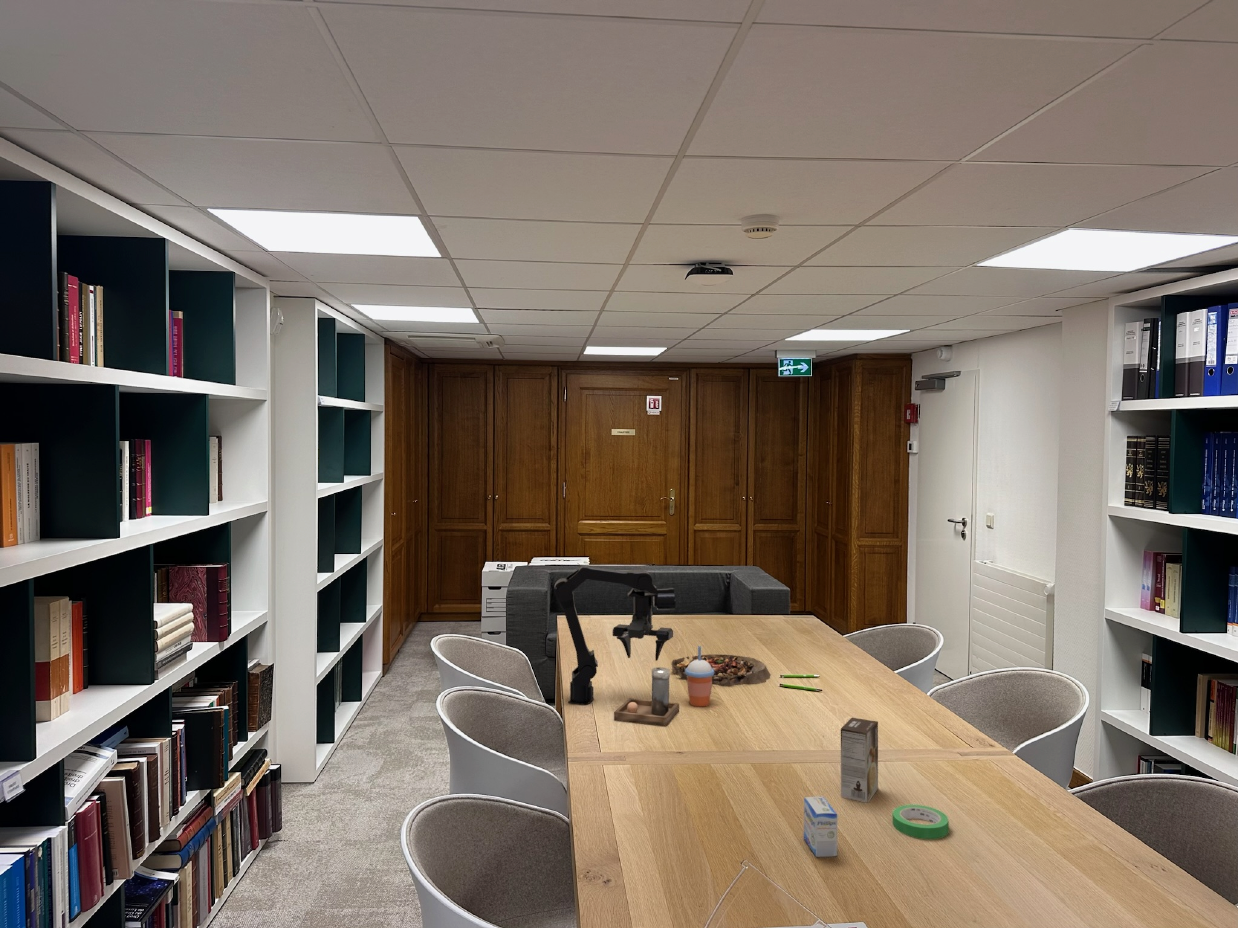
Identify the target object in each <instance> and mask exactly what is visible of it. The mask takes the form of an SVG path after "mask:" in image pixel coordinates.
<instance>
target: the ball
mask: <svg viewBox="0 0 1238 928" xmlns="http://www.w3.org/2000/svg"><path fill="white" fill-rule="evenodd" d="M627 709H628V711H629V712H630V713H635V712H636V711H637V710H638V705H637V704H636V703H635V702H630V703H629V704H628V706H627Z"/></svg>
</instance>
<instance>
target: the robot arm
mask: <svg viewBox="0 0 1238 928" xmlns="http://www.w3.org/2000/svg"><path fill="white" fill-rule="evenodd" d="M586 580H590V581H599V582H606V583H613V584H621V585H624V586H625V585H626V587H627V586H628V587H630V588H631V589H630V591H628V592H627V596H628V598H633V613H632V617H631V621H630V623H629V624H623V623H622V624H617V625H616V626H614V627H613V628H612V636H613V637H616V639H617V640H619V641H620V642H621V643H622V645H623V647H624V651H625V654H626V657H627V658H628V659H630V658H631V656H632V649H631V648H632V647H631V646H632V645H631V644H632V641H631V640H632V639H638V640H642V639H643V638H644V637H645V636H649V637H650V636H651V637H655V638H656V640H655V653H654V654H655V656H654V657H655V661H658V660H659V657H660V655H661V652H662V649H663V647H664V645H665V643H666V642H667V641H670V640H671V639H673V638H674V629H672V627H659V628H658V629H653V628H654V627H653V626H654V625H653V624H652V621H653V620H652V619H653V613H654V612H653V611H652V608H656V610H657V611H675V610H676V599H675V598H676V597H675V589H674V588H673V587H669V588H657V586H656V585H654V583H653V578H652V576H651V575H650V573H649V572H648V571H647V570H646V569H631V570H630V569H629V570H619V569H618V570H617V569H610V568H603V567H595V566H594V567H593V566H588V565H581V566H580V567H579V568H578V569H576V570H575V571H573V572H572V573H570V574H569V575H567V577H563V578H559V579H558V580H556V582H555V583H554V586H553V587H554V588H553V593H554V595H555V597H556V600H557V602H558V603H559V605H560V606H561V608H562V610H563V612H564V615H565V616H564V617H565V620H566V623H567V626H568V628H569V629H568V630H569V632H570V636H571V638H572V639H571V640H572V642H573V646H574V648H575V649H574V650H575V652H576V662H577V666H576V668H574V669H573V670H572V671H571V681H570V683H569V684H570V685H569V694H570V695H569V697H570V698H569V699H568V702H567V703H568V704H575V705H583V706H584V705H585V706H586V705H589V704H590V703H591V702H593V700H595V697H594V686H593V680H592V679H593V678H595V676H596V675H597V672H598V670H597V668H598V667H599V664H598V663H599V662H598V660H597V658H596V657H595V656H596V655H595V650H594V649H592V650H590V649H589V647H588V646H587V643H586V639H585V636H584V632H583V629H582V626H581V622H580V619H579V616H578V613H577V609H576V607H575V606H576V605H575V599H574V591H575V590H576V589H578V587H579V586H581V585H582V584H583V583H584V582H586ZM635 589H636V590H635ZM646 591H647V592H648V593H647V592H646ZM652 604H653V605H652Z"/></svg>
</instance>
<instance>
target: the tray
mask: <svg viewBox="0 0 1238 928" xmlns="http://www.w3.org/2000/svg"><path fill="white" fill-rule="evenodd" d="M651 701H652V699H643V698H642V699H641V698H634V697H633V698H632V697H629V698H628V699H627V700H625V701H624V703H622V704H621V705H620V706H619V707H618V708H616V710H614V711H613V720H614V722H615V721H616V722H625V723H634V724H641V725H642V724H643V725H650V726H651V725H652V726H658V727H667V726H668V725H669V724H670V723H671V722H672V720H674V718H676V716H677V715H678V714H679V713H680V703H678V702H670V701H669V711H668V712H667V714H666V715H665V716H656V715H653V714H651ZM630 702H635V703H636V704H637V705H638V710H637V711H636V712H635V713H630V712H629V711H628V709H627V706H628V704H629V703H630Z"/></svg>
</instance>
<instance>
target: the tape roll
mask: <svg viewBox="0 0 1238 928" xmlns="http://www.w3.org/2000/svg"><path fill="white" fill-rule="evenodd" d="M910 819H911V820H912V819H916V820H924V821H926V822H927V821H928V822H931V823H928V824H927V823H918V822H914V821H911V820H910ZM949 821H950V820H949V818H948V815H946V814H945V813H944V812H943V811H941V810H939V809H936V808H933V807H930V806H926V805H922V804H904V805H901V806H897V807H896V808H894V809H893V811H892V826H893V827H894V829H895V830H896V831H898V832H900V833H901V834H902V835H906V836H909V837H912V838H915V839H922V840H937V839H938V840H939V839H942V838H945V837H947V836H948V834H949V827H950V826H949V824H950V823H949Z"/></svg>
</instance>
